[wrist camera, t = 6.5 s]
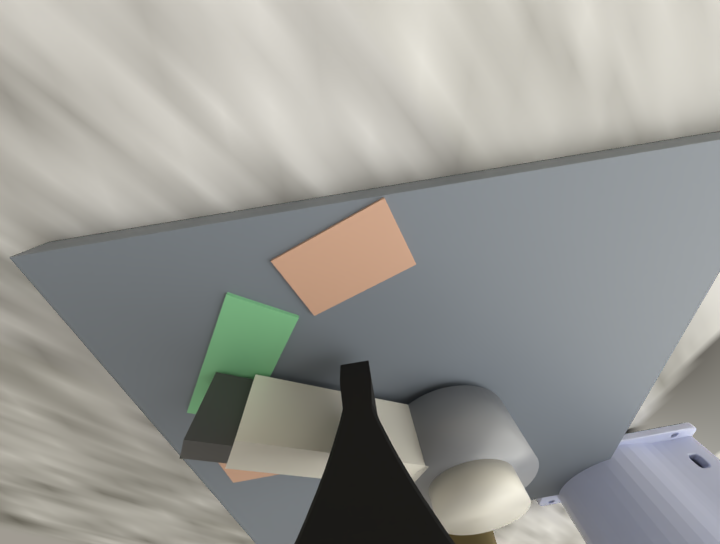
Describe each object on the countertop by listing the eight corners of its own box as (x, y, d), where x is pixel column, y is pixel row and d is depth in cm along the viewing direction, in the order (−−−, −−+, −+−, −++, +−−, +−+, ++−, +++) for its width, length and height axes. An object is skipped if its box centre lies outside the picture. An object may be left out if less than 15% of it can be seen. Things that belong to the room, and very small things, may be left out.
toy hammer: (526, 397, 13) (589, 483, 10) (463, 461, 15) (497, 547, 12) (227, 326, 9) (173, 426, 6) (202, 424, 11) (154, 533, 8)
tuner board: (750, 126, 9) (812, 125, 8) (579, 469, 20) (595, 490, 19) (48, 242, 9) (4, 259, 7) (265, 527, 20) (261, 553, 18)
